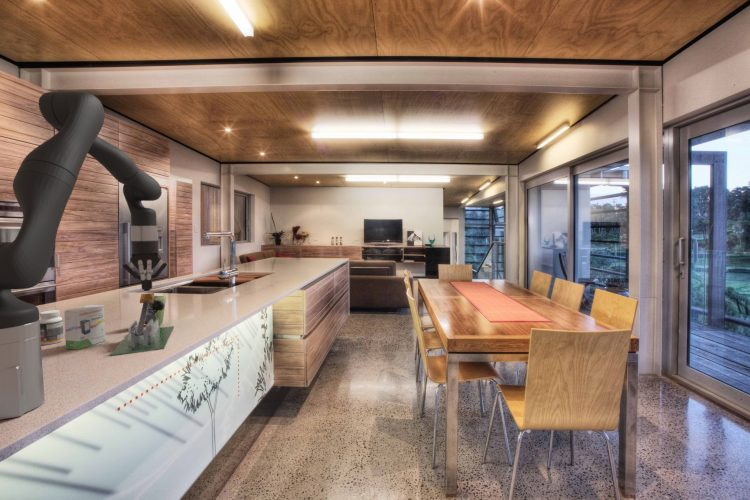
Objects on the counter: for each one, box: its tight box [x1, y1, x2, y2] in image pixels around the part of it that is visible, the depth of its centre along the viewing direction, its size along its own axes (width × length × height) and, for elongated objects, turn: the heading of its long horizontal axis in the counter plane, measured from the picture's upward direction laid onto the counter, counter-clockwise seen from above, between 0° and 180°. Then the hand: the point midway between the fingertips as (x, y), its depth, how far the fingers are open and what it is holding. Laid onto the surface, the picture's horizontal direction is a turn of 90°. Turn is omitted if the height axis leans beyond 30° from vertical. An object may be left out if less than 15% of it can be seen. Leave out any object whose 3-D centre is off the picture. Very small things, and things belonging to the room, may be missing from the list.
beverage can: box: [144, 292, 167, 326], centre depth 126 cm, size 6×7×12 cm
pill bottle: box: [39, 309, 64, 346], centre depth 107 cm, size 6×6×10 cm
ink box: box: [63, 304, 107, 351], centre depth 105 cm, size 9×5×12 cm, turn 168°
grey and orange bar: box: [135, 292, 155, 336], centre depth 107 cm, size 19×4×1 cm
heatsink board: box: [110, 313, 175, 357], centre depth 109 cm, size 25×13×6 cm, turn 25°
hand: (147, 290), depth 114 cm, fingers closed
